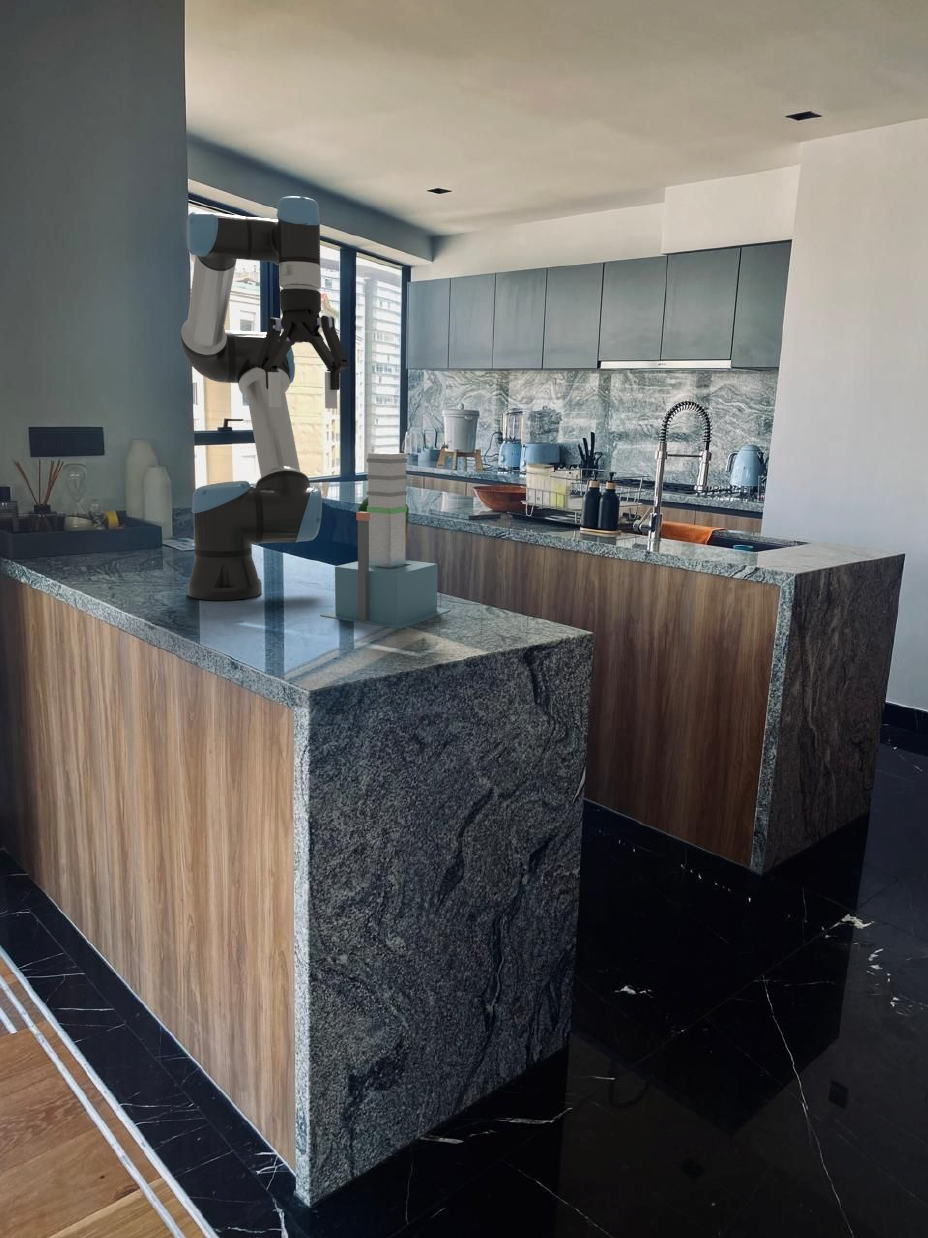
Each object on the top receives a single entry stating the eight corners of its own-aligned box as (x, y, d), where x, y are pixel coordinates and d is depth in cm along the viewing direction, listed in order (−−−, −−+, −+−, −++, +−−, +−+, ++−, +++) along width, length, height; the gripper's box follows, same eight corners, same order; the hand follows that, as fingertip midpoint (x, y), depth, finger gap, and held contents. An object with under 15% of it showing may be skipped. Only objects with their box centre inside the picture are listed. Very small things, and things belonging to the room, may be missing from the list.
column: (367, 571, 166) (366, 453, 161) (383, 567, 170) (383, 452, 165) (390, 574, 163) (391, 454, 158) (406, 570, 168) (407, 453, 163)
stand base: (320, 619, 165) (318, 509, 161) (375, 602, 181) (375, 501, 176) (400, 632, 157) (400, 516, 152) (450, 613, 172) (452, 508, 167)
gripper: (235, 289, 164) (239, 406, 169) (342, 283, 153) (343, 408, 158) (262, 294, 171) (266, 406, 176) (367, 288, 159) (367, 409, 164)
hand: (302, 408), depth 167 cm, fingers open, 13 cm apart
